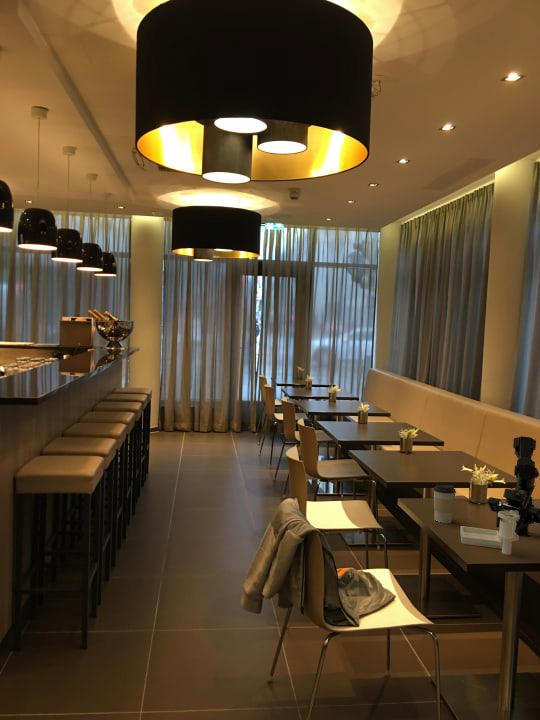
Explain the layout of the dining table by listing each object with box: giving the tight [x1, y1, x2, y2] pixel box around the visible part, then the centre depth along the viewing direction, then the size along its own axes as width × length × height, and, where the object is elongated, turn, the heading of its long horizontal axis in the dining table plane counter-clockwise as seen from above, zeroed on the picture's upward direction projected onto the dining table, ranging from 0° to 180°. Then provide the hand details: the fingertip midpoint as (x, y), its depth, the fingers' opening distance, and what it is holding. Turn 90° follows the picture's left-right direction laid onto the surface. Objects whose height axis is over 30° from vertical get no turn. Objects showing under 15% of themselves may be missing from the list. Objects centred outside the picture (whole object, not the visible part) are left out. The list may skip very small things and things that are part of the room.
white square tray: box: [459, 525, 503, 550], centre depth 217 cm, size 14×14×2 cm
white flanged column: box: [497, 510, 520, 556], centre depth 204 cm, size 7×7×15 cm
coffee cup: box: [433, 482, 457, 524], centre depth 239 cm, size 9×9×15 cm
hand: (506, 529), depth 203 cm, fingers open, 6 cm apart
